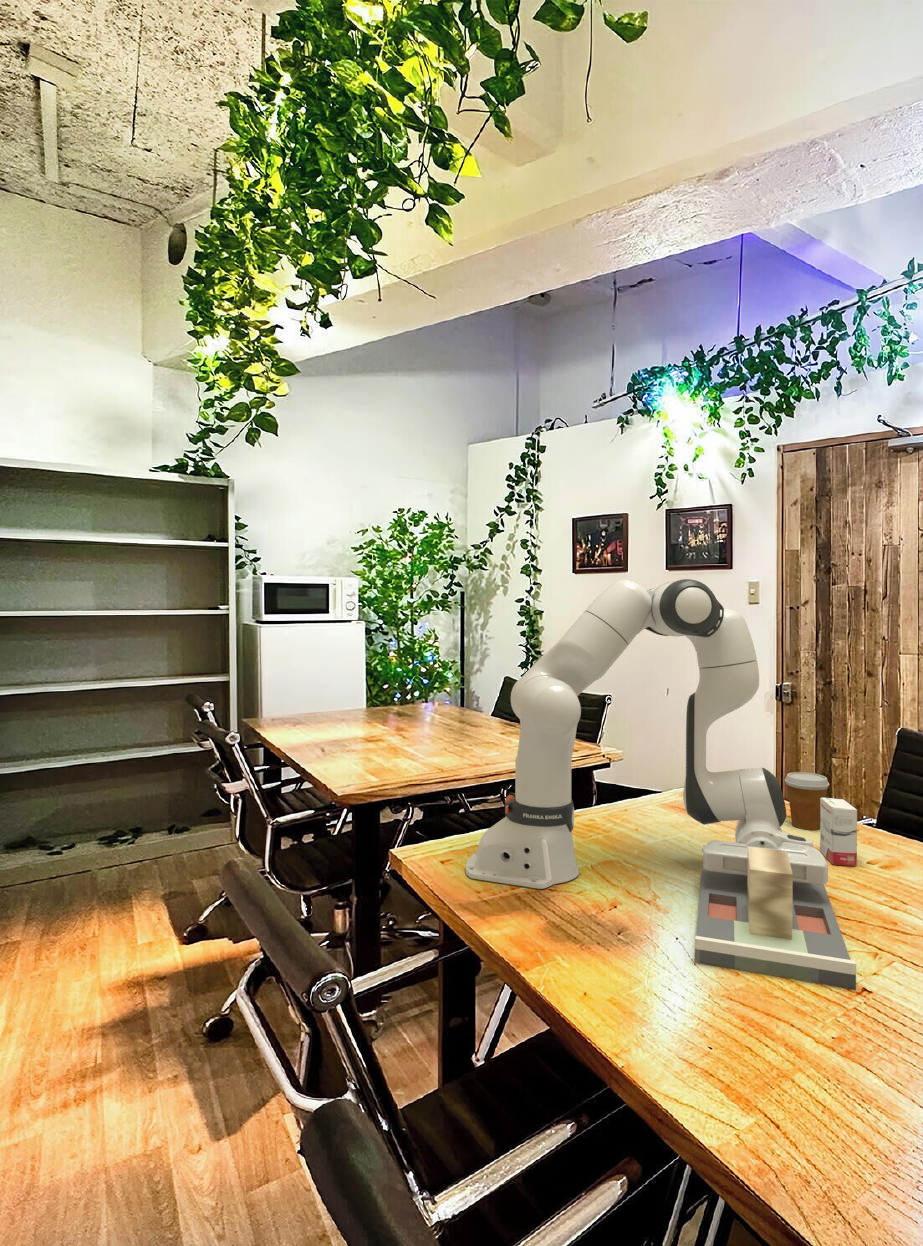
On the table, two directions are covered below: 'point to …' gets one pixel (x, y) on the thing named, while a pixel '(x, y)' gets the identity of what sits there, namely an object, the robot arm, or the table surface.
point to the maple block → (769, 893)
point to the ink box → (838, 831)
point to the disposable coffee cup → (806, 798)
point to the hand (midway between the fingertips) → (765, 878)
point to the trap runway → (731, 945)
